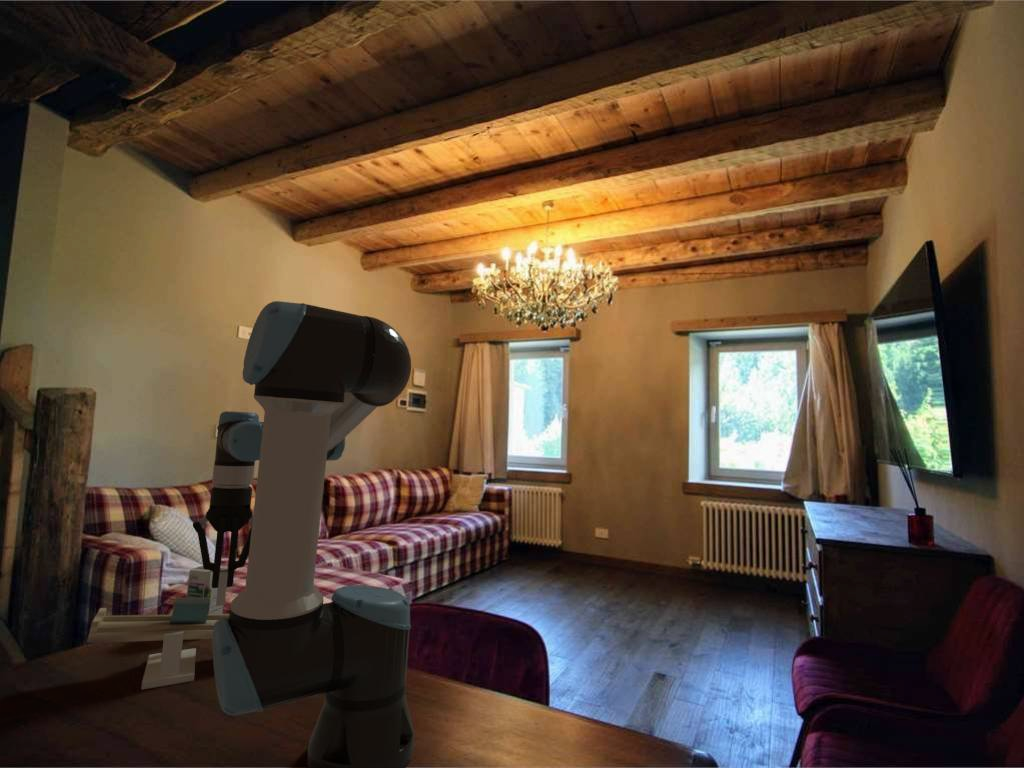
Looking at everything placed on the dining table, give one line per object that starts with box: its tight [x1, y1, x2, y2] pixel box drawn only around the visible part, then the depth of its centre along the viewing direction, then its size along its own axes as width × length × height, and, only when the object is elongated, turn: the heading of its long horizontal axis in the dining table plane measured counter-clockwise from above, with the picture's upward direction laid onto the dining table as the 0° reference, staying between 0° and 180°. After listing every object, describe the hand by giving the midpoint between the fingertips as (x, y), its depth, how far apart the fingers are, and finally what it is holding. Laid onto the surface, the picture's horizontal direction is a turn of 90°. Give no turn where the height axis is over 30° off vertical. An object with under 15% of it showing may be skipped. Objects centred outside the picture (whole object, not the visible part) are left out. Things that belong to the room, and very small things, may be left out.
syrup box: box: [186, 565, 228, 614], centre depth 118 cm, size 6×6×14 cm
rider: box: [170, 596, 210, 625], centre depth 101 cm, size 4×6×4 cm, turn 121°
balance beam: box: [86, 607, 230, 644], centre depth 99 cm, size 9×26×6 cm, turn 121°
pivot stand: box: [141, 631, 197, 691], centre depth 99 cm, size 13×8×9 cm, turn 31°
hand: (220, 603), depth 104 cm, fingers closed
